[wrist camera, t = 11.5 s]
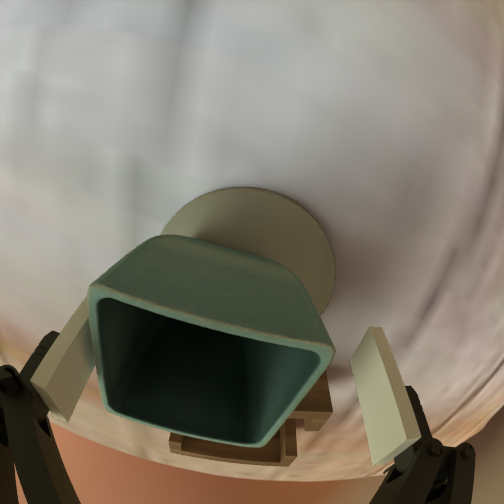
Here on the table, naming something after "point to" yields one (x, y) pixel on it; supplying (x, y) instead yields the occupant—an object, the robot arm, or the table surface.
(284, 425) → the frame
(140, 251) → the flower pot
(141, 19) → the table surface
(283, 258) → the olive beige round disc
